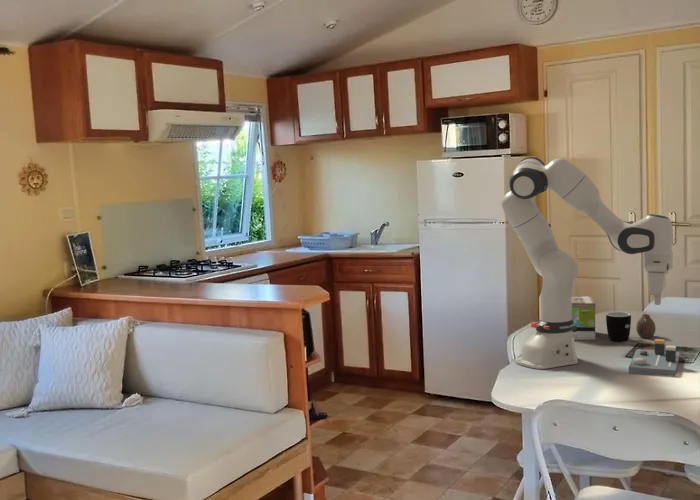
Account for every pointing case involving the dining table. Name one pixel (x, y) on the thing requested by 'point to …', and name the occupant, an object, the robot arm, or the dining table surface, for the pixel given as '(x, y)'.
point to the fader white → (670, 353)
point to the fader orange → (659, 346)
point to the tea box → (583, 318)
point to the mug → (618, 326)
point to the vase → (645, 326)
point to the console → (653, 363)
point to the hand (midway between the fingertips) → (657, 304)
